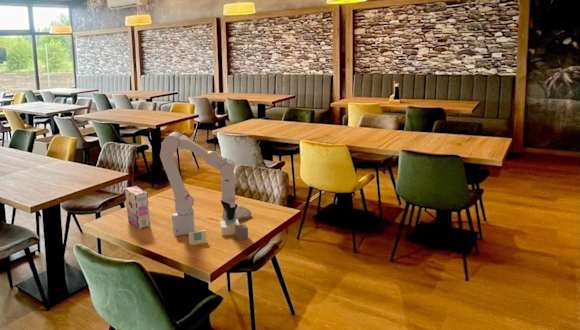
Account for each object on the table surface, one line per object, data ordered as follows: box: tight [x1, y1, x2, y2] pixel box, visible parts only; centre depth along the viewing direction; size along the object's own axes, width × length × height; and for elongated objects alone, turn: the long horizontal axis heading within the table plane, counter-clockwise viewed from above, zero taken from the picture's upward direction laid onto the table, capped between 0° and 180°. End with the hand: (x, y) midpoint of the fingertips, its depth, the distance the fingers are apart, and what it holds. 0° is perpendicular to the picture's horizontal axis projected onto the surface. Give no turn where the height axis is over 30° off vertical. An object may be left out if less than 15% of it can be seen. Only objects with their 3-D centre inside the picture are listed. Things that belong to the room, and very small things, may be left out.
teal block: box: [222, 208, 236, 223], centre depth 206 cm, size 4×4×5 cm
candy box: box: [124, 185, 151, 230], centre depth 214 cm, size 14×6×16 cm, turn 37°
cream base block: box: [219, 219, 240, 236], centre depth 207 cm, size 8×8×4 cm
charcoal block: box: [234, 223, 249, 241], centre depth 200 cm, size 4×4×5 cm
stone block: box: [222, 205, 252, 222], centre depth 223 cm, size 12×5×10 cm
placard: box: [188, 229, 208, 246], centre depth 195 cm, size 7×3×5 cm, turn 111°
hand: (229, 217), depth 206 cm, fingers closed on teal block, 4 cm apart
